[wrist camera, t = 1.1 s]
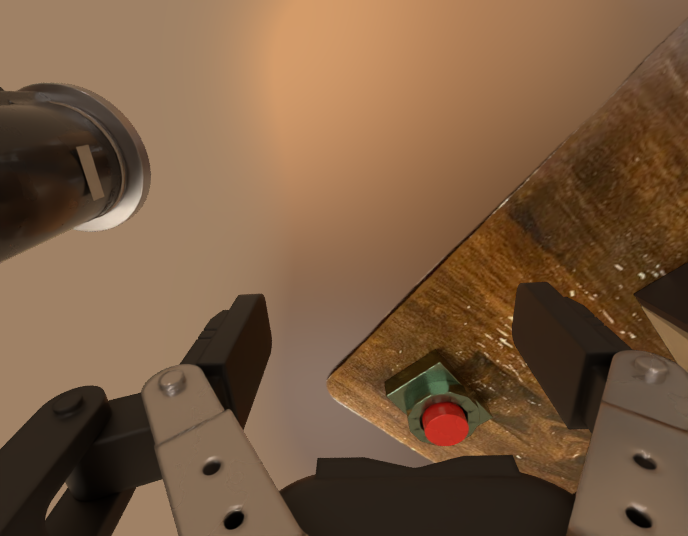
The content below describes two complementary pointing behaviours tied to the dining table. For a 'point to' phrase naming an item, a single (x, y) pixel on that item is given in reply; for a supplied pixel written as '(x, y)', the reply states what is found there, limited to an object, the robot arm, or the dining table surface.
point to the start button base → (434, 393)
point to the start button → (445, 424)
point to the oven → (671, 338)
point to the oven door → (668, 297)
